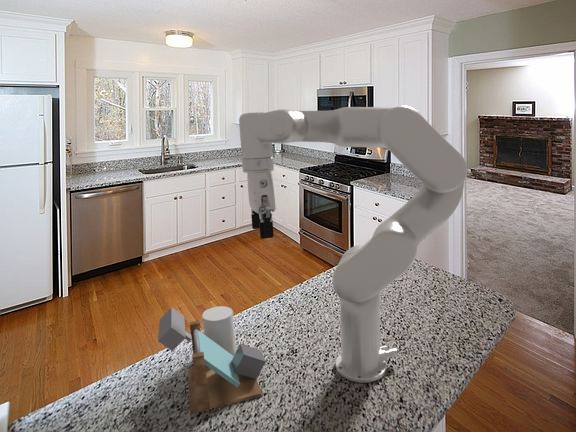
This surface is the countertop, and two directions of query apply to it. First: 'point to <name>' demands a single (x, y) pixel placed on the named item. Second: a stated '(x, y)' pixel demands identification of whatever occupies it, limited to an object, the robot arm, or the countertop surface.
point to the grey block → (248, 361)
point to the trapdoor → (196, 345)
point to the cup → (220, 327)
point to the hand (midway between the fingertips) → (262, 232)
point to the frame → (215, 384)
